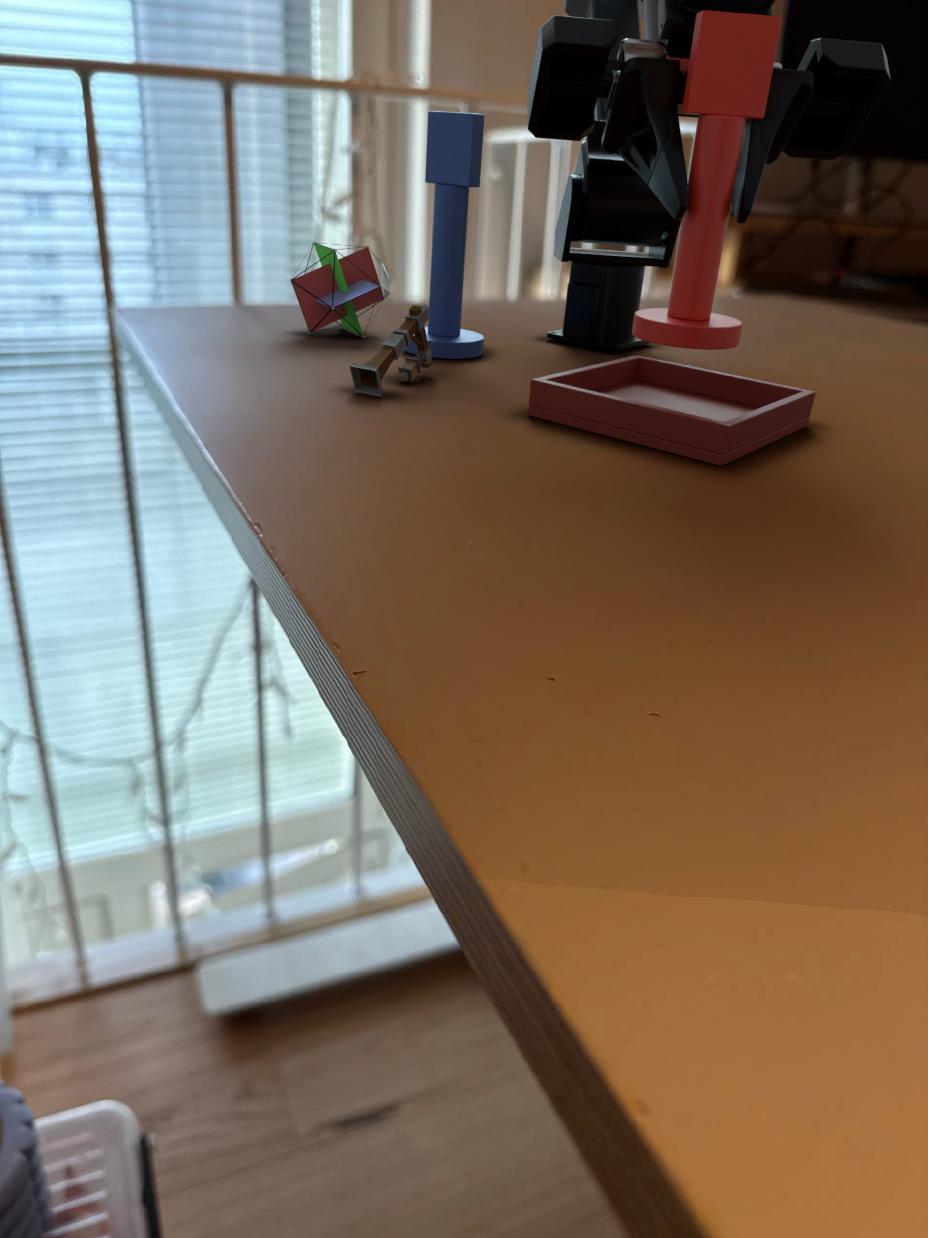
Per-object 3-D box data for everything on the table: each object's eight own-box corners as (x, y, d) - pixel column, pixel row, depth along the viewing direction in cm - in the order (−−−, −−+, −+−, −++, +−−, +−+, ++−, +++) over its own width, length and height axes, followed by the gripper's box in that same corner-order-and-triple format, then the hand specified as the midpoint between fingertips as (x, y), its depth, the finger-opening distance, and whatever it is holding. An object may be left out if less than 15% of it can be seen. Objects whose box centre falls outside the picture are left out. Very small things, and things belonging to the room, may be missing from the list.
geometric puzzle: (289, 313, 66) (352, 218, 66) (257, 297, 72) (315, 209, 71) (361, 370, 71) (421, 282, 70) (326, 351, 76) (382, 269, 76)
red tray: (631, 386, 63) (636, 354, 62) (808, 426, 56) (816, 391, 55) (527, 415, 54) (530, 378, 53) (721, 466, 47) (729, 426, 46)
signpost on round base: (622, 326, 55) (665, 16, 48) (720, 331, 56) (777, 25, 49) (644, 346, 50) (696, 1, 43) (753, 352, 50) (822, 12, 43)
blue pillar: (438, 339, 73) (450, 113, 66) (499, 353, 70) (518, 117, 62) (385, 347, 69) (392, 107, 61) (448, 362, 65) (462, 110, 58)
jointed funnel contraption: (446, 358, 62) (436, 296, 58) (388, 430, 57) (374, 367, 54) (422, 354, 62) (411, 293, 59) (363, 425, 58) (348, 363, 55)
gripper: (558, -182, 45) (565, 68, 40) (927, -144, 46) (975, 102, 42) (524, 27, 56) (527, 244, 51) (825, 52, 57) (855, 266, 52)
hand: (712, 215), depth 49 cm, fingers closed on signpost on round base, 3 cm apart
